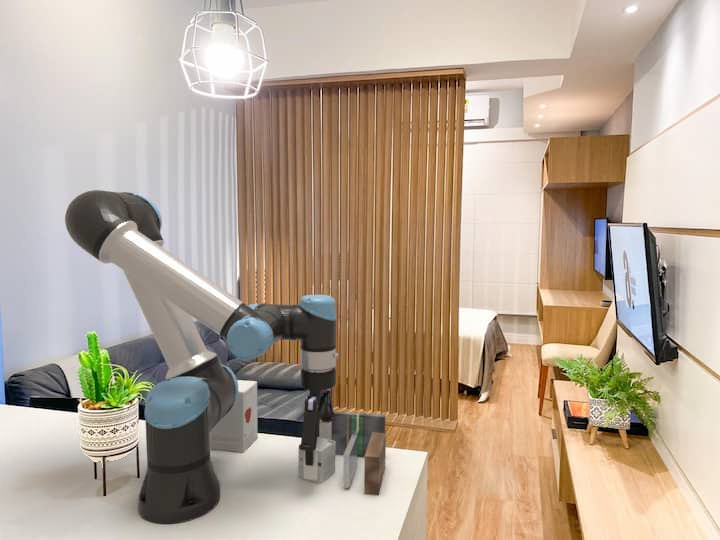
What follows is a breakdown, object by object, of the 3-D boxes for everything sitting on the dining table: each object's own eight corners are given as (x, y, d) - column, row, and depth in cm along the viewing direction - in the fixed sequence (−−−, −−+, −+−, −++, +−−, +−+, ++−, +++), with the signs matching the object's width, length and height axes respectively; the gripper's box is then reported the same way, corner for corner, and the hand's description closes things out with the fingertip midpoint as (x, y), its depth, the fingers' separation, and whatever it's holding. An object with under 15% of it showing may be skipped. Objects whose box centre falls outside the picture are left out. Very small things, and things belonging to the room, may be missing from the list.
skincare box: (297, 477, 111) (297, 444, 111) (313, 466, 117) (313, 434, 116) (321, 484, 108) (321, 451, 108) (336, 472, 114) (336, 440, 113)
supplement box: (243, 453, 123) (243, 392, 121) (209, 449, 124) (207, 389, 123) (258, 437, 132) (258, 380, 130) (226, 434, 133) (225, 378, 132)
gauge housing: (313, 489, 106) (312, 442, 106) (331, 451, 124) (331, 411, 123) (378, 495, 104) (379, 447, 103) (387, 456, 122) (388, 415, 121)
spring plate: (343, 487, 106) (343, 440, 106) (355, 454, 121) (355, 413, 120) (349, 487, 106) (349, 440, 105) (360, 455, 121) (360, 413, 120)
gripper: (322, 387, 97) (322, 494, 99) (346, 353, 122) (345, 440, 124) (283, 384, 98) (284, 491, 100) (315, 352, 123) (315, 438, 125)
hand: (318, 463), depth 112 cm, fingers open, 13 cm apart
